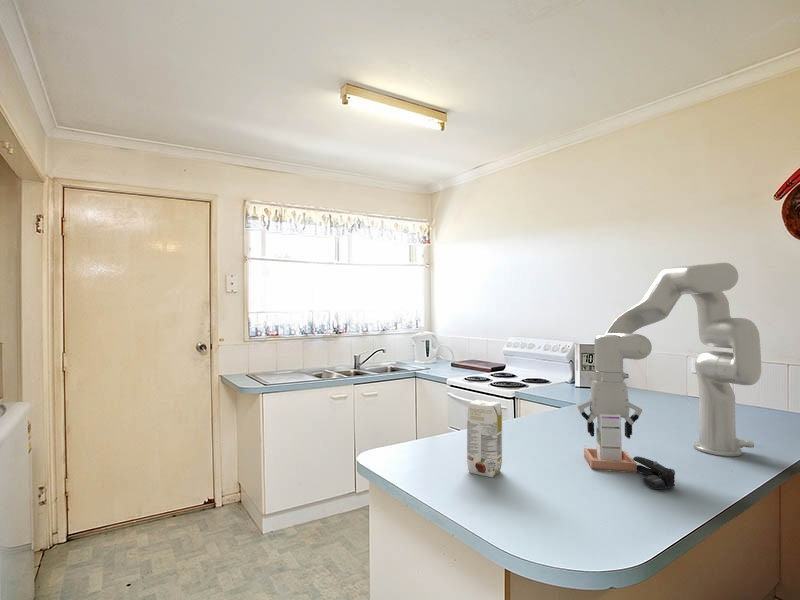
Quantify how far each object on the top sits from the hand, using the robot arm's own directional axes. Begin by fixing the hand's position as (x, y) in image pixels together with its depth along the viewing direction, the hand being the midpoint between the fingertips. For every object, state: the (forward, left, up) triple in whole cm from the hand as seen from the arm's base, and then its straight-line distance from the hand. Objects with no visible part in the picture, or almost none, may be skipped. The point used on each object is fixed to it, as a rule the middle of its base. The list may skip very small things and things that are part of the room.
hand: (609, 436), depth 131 cm
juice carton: (+35, +15, -8) cm, 39 cm away
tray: (0, 0, -8) cm, 8 cm away
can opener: (-8, +10, -9) cm, 16 cm away
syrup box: (0, 0, -8) cm, 8 cm away
